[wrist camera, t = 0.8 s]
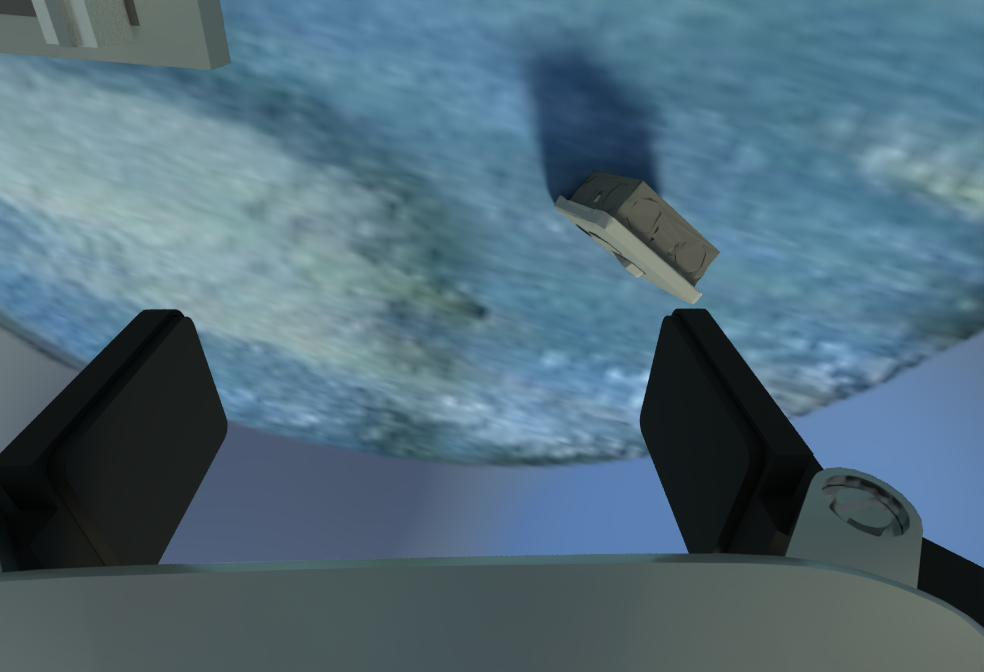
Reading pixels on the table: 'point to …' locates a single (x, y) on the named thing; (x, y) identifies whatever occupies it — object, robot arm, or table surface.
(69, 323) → the table surface
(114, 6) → the grooved grey block
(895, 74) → the table surface
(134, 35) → the panel
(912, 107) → the table surface
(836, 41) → the table surface
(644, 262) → the electrical switch
